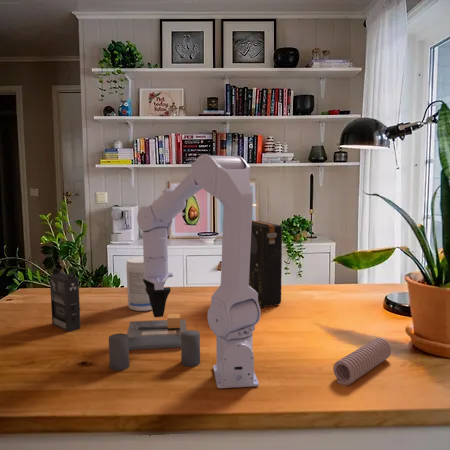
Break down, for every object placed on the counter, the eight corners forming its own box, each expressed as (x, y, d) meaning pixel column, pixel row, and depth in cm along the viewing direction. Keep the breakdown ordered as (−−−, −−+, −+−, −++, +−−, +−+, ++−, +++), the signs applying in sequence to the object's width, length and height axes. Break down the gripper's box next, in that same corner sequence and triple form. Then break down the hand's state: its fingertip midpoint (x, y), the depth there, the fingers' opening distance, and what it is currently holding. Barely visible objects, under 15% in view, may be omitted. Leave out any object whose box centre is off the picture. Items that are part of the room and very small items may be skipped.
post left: (128, 370, 92) (127, 340, 91) (108, 371, 91) (107, 341, 91) (130, 362, 96) (129, 333, 95) (111, 363, 95) (110, 333, 95)
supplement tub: (165, 308, 133) (164, 260, 131) (136, 314, 128) (134, 264, 126) (150, 300, 141) (149, 255, 139) (122, 306, 135) (121, 258, 134)
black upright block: (236, 296, 146) (236, 220, 143) (259, 292, 149) (259, 219, 146) (260, 309, 132) (260, 225, 128) (284, 305, 135) (285, 224, 132)
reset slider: (180, 328, 107) (180, 317, 107) (167, 328, 107) (167, 318, 106) (180, 323, 110) (179, 313, 110) (167, 324, 110) (167, 314, 109)
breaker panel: (187, 347, 104) (187, 333, 103) (126, 350, 102) (125, 336, 102) (185, 330, 114) (185, 318, 114) (130, 332, 113) (130, 320, 112)
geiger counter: (86, 328, 117) (84, 272, 115) (70, 332, 113) (67, 275, 111) (66, 319, 123) (63, 266, 122) (50, 323, 120) (47, 269, 118)
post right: (200, 366, 94) (200, 336, 93) (181, 367, 93) (181, 337, 92) (199, 358, 97) (199, 329, 97) (181, 359, 97) (180, 330, 96)
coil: (372, 335, 99) (329, 359, 87) (392, 338, 96) (351, 364, 83) (373, 355, 100) (331, 383, 87) (393, 359, 96) (352, 389, 84)
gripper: (176, 261, 100) (177, 319, 101) (168, 250, 114) (169, 301, 115) (144, 263, 98) (146, 322, 100) (140, 251, 112) (142, 303, 114)
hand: (156, 311), depth 107 cm, fingers open, 7 cm apart
